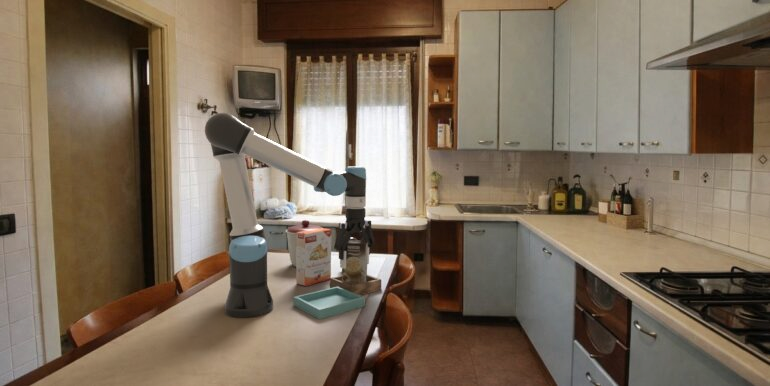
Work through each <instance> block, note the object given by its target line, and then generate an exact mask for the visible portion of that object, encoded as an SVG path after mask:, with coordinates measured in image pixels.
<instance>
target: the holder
mask: <svg viewBox="0 0 770 386" xmlns="http://www.w3.org/2000/svg"><path fill="white" fill-rule="evenodd" d="M337 286H338V287H340V288H342V289H345V290H347V291H350V292H352V293H355V294H357V295H360V296H363V295H366V294H370V293H374V292H378V291H381V290H382V278H378V277H375V276H372V275H369V274H367V282H364V283H360V284H356V285H350V284H347V283H345V282H342V274H341V275H338V276H337V275H336V276H333V277H332V276H331V278H330V279H329V288H333V287H337Z"/></svg>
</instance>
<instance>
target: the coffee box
mask: <svg viewBox="0 0 770 386" xmlns="http://www.w3.org/2000/svg"><path fill="white" fill-rule="evenodd" d="M344 251H346V268H345V269H344V268H341V275H342V282H345V283H347V284H350V285H356V284H360V283H364V282H367V275H368V264H367V254H368V241H359V240H358V239H357V240H349V241H348V243H347V246H346V248H345V250H344Z"/></svg>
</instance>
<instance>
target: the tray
mask: <svg viewBox="0 0 770 386" xmlns="http://www.w3.org/2000/svg"><path fill="white" fill-rule="evenodd" d="M293 306H294V307H296V308H298V309H300V310H302V311H303V312H306V313H307V314H309V315H311V316H313V317H315V318H316V319H318V320H321V319H325V318H328V317H333V316H336V315H339V314H342V313H345V312H349V311H352V310H357V309H360V308H363V307H365V306H366V297H364V296H363V295H357V294H355V293H352V292H350V291H347V290H345V289H342V288H340V287H338V286H337V287H333V288H330V287H329V288H325V289H321V290H316V291H312V292H309V293H304V294H299V295H296V296H295V295H294V296H293Z"/></svg>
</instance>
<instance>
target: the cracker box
mask: <svg viewBox="0 0 770 386" xmlns="http://www.w3.org/2000/svg"><path fill="white" fill-rule="evenodd" d="M295 267H296V269H295V270H296V271H295V273H296V275H295V282H296V284H297V285H300V286H304V287H308V286H310V285H315V284H318V283H321V282H324V281H328V280H329V281H330V278H332V229H329V228H323V227H322V228H320V229H314V230H307V231H301V232H297V233H296V266H295Z"/></svg>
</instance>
